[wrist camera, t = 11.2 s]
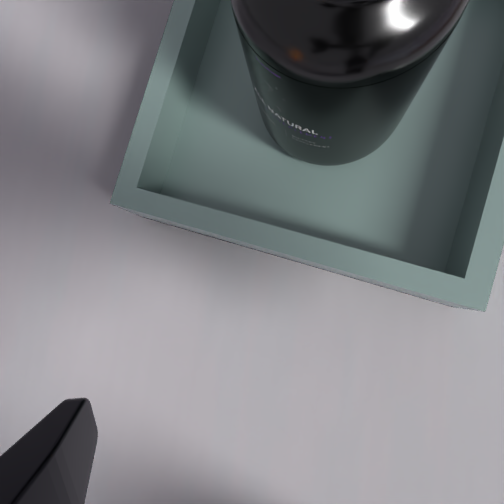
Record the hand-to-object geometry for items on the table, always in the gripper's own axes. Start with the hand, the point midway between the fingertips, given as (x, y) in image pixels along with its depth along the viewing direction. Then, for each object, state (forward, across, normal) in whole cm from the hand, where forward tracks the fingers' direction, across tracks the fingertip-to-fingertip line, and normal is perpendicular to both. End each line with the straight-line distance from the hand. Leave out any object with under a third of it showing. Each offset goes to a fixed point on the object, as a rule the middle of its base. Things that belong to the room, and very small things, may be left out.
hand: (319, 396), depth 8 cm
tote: (+15, -4, -4) cm, 16 cm away
